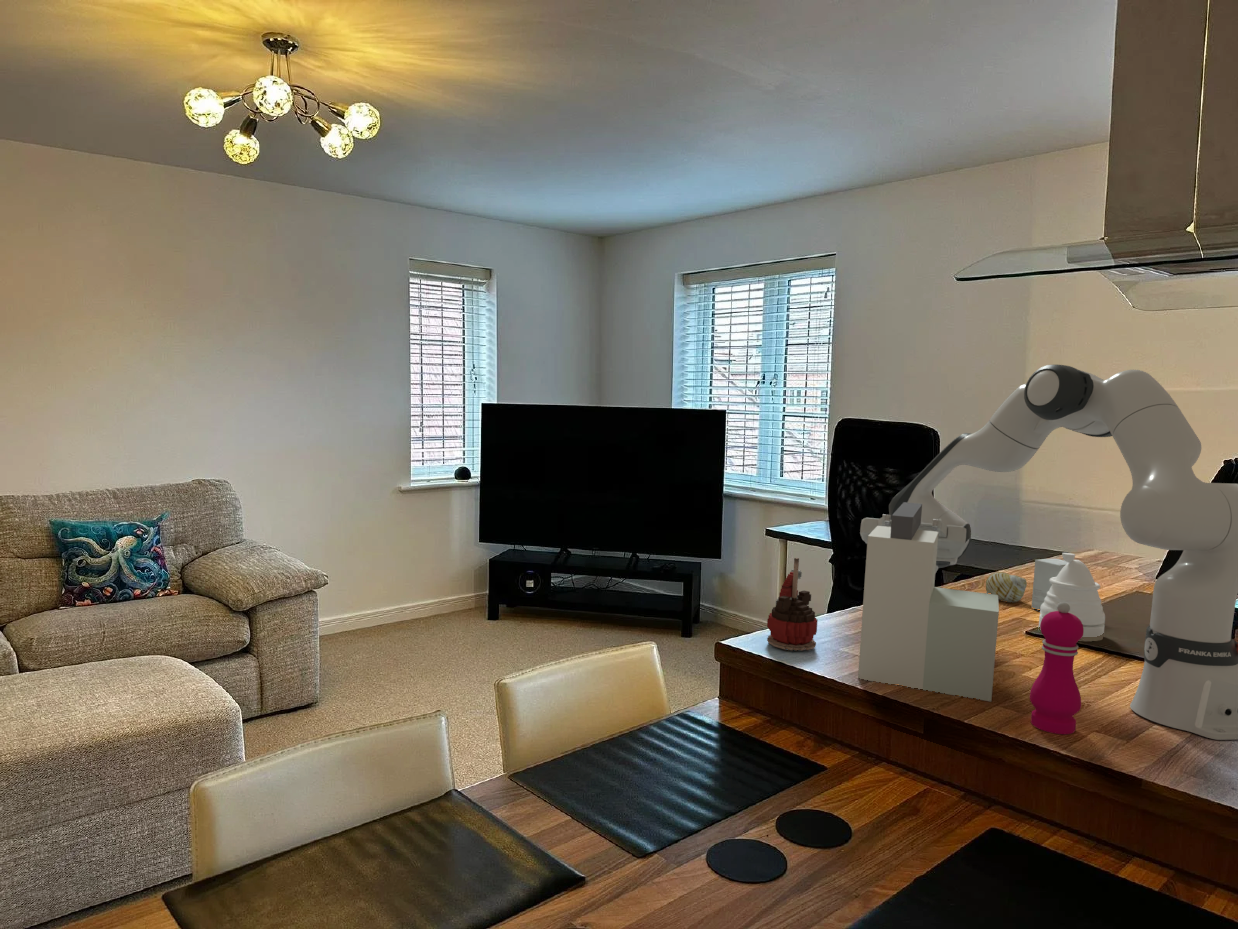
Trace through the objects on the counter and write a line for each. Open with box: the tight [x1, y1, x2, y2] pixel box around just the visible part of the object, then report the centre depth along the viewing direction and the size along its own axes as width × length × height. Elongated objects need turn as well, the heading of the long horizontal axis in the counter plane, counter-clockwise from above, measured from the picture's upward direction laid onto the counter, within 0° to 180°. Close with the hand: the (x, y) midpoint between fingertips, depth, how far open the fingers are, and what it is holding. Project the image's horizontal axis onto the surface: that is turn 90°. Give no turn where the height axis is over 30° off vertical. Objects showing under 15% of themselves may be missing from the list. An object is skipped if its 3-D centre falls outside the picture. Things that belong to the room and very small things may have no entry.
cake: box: [766, 557, 818, 651], centre depth 170 cm, size 11×9×18 cm
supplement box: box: [1031, 558, 1069, 610], centre depth 208 cm, size 7×7×13 cm
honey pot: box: [1038, 552, 1106, 637], centre depth 189 cm, size 13×13×18 cm
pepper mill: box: [1029, 602, 1084, 735], centre depth 132 cm, size 7×7×20 cm
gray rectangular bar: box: [890, 502, 922, 540], centre depth 158 cm, size 22×4×4 cm, turn 156°
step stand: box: [857, 526, 1000, 702], centre depth 153 cm, size 14×22×26 cm, turn 66°
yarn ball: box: [985, 571, 1028, 603], centre depth 220 cm, size 10×10×10 cm
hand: (911, 520), depth 166 cm, fingers open, 8 cm apart
